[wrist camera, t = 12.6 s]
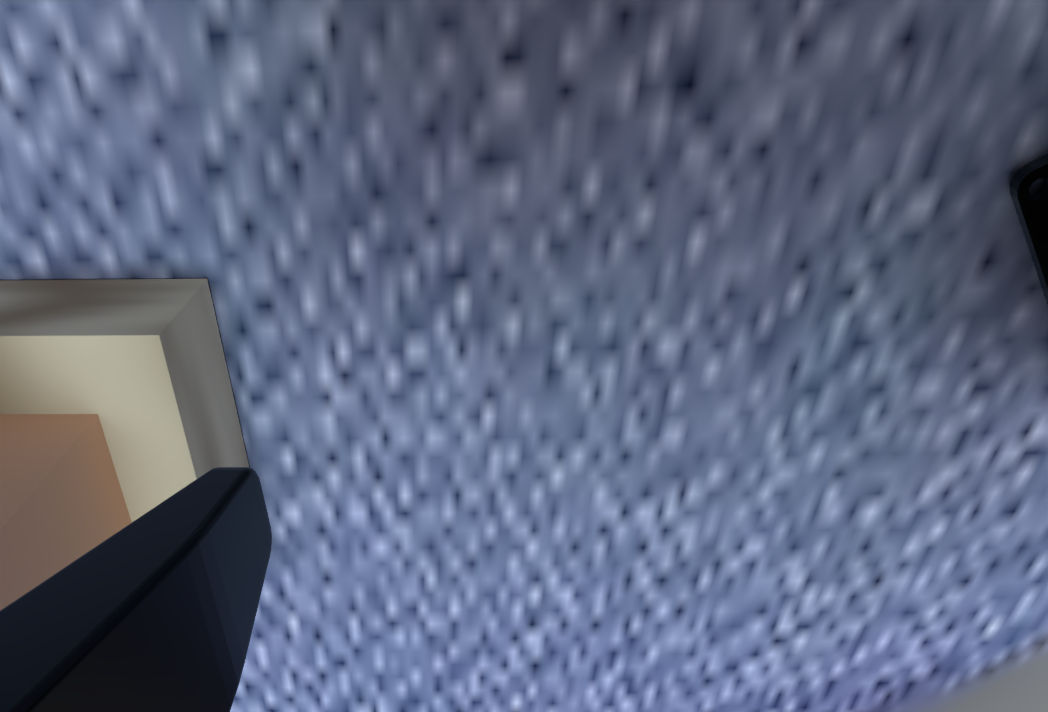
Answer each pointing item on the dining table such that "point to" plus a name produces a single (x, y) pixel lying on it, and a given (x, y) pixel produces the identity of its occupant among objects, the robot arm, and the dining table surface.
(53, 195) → the dining table surface
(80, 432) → the brown block
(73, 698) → the robot arm
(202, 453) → the plinth
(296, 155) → the dining table surface
